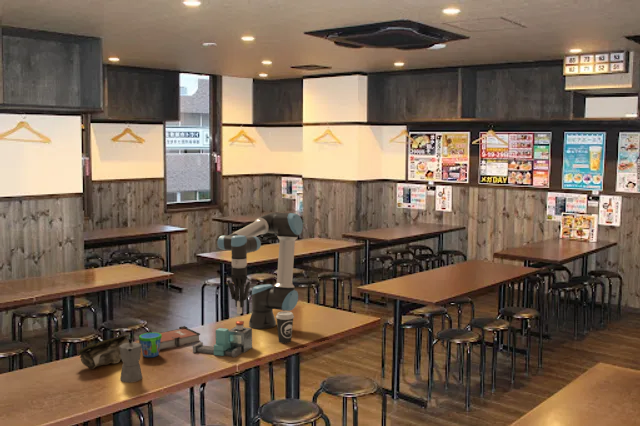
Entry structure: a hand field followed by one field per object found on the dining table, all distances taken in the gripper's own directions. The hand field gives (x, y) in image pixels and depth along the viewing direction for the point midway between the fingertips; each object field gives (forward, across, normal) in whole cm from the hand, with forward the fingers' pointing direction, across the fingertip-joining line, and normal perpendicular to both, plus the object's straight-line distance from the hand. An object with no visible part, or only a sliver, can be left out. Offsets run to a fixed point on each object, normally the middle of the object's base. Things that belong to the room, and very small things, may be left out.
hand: (239, 313), depth 324 cm
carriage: (+18, -5, -9) cm, 21 cm away
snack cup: (+19, -36, -24) cm, 47 cm away
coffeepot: (+19, -26, -53) cm, 62 cm away
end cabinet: (+18, 0, 0) cm, 18 cm away
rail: (+18, -8, -9) cm, 22 cm away
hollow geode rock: (+19, -49, -41) cm, 67 cm away
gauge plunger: (+11, 0, 0) cm, 11 cm away
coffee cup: (+19, +16, +20) cm, 32 cm away
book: (+19, -39, -2) cm, 43 cm away
